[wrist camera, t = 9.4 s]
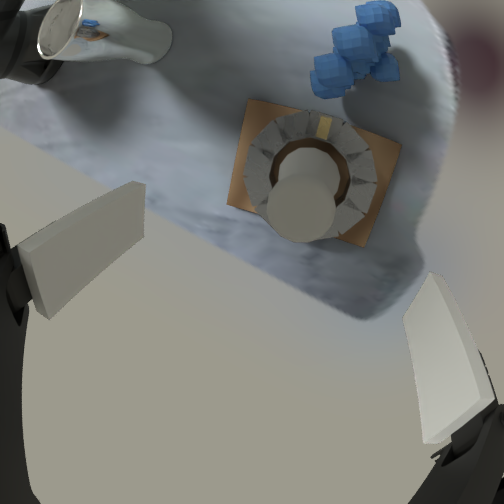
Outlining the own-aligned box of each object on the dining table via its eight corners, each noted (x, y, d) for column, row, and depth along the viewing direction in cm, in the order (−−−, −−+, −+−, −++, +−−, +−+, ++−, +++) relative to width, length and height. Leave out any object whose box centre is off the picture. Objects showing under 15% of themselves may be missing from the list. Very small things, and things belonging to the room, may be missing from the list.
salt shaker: (270, 169, 28) (230, 206, 17) (312, 133, 25) (302, 143, 14) (307, 211, 29) (294, 274, 18) (350, 178, 26) (368, 223, 15)
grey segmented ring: (240, 210, 31) (232, 220, 28) (265, 99, 25) (258, 97, 22) (348, 244, 30) (350, 258, 27) (387, 136, 23) (394, 138, 21)
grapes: (353, 127, 25) (371, 133, 15) (299, 87, 24) (280, 68, 14) (413, 52, 19) (459, 21, 9) (360, 12, 19) (375, -41, 8)
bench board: (230, 201, 32) (226, 204, 31) (251, 99, 26) (248, 98, 25) (362, 243, 30) (363, 247, 29) (399, 143, 24) (401, 144, 23)
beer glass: (166, 9, 22) (79, -25, 9) (183, 49, 25) (90, 24, 12) (124, 38, 25) (32, 26, 12) (138, 77, 27) (41, 77, 15)
